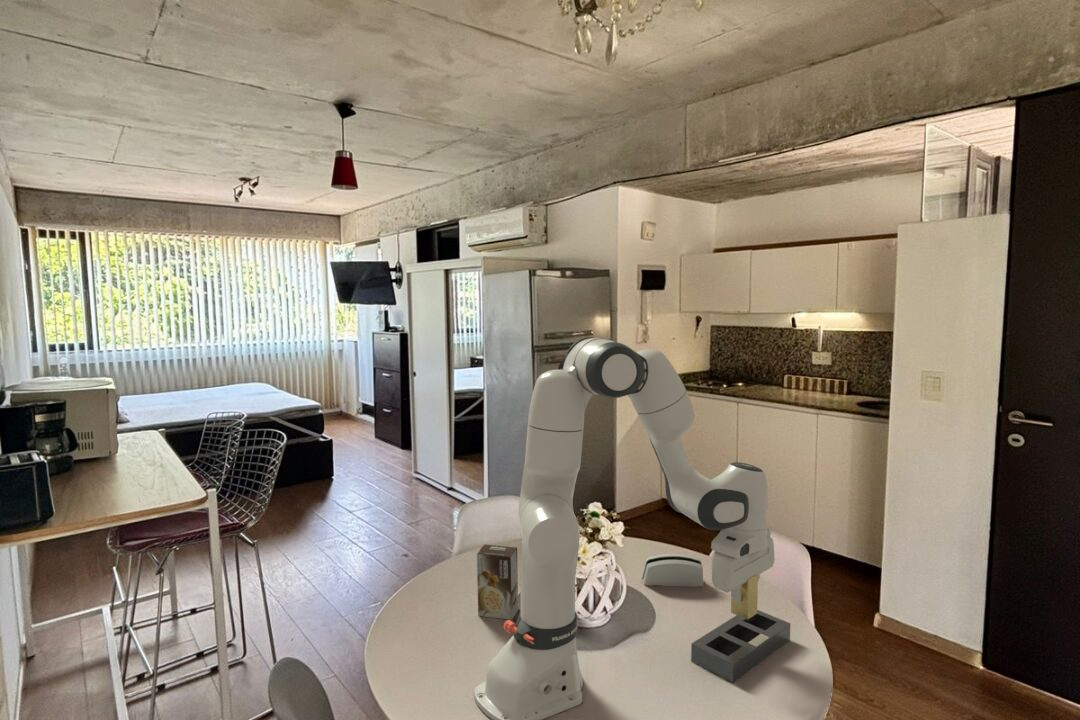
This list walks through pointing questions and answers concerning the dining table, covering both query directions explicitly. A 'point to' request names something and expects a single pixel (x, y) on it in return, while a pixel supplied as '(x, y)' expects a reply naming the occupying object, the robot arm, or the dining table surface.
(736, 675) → the grey peg holder
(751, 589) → the brass peg
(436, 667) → the dining table surface
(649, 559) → the grey rounded block
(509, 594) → the grey food box
